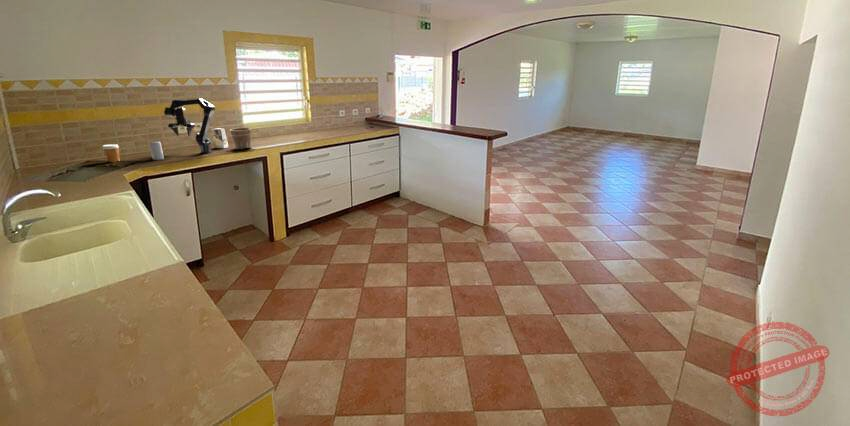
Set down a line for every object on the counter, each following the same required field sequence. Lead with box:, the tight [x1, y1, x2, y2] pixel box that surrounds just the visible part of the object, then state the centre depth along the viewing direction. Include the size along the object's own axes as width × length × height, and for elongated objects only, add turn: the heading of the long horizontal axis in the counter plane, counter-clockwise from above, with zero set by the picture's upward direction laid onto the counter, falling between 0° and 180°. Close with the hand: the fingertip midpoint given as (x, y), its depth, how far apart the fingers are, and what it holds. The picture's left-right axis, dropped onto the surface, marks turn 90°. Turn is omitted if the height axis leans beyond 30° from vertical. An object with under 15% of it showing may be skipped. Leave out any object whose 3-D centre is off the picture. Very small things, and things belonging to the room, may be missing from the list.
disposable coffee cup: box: [102, 143, 121, 163], centre depth 290 cm, size 10×10×12 cm
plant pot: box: [229, 127, 252, 150], centre depth 340 cm, size 16×16×16 cm
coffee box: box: [211, 127, 229, 149], centre depth 343 cm, size 9×6×16 cm
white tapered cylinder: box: [148, 141, 165, 161], centre depth 298 cm, size 7×7×12 cm
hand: (183, 136), depth 320 cm, fingers open, 9 cm apart
